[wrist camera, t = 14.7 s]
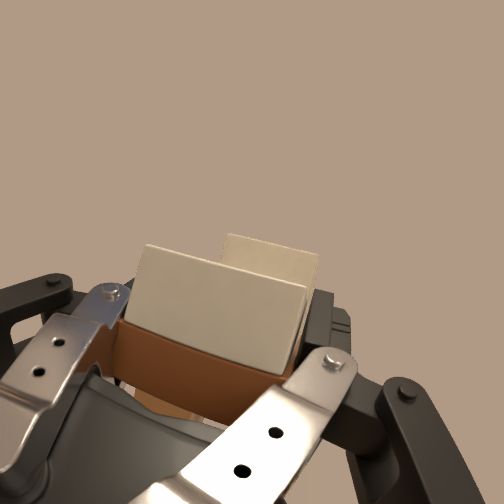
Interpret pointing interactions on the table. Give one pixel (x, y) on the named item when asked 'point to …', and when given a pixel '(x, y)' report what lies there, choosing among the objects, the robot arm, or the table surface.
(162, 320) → the stepped block on board
